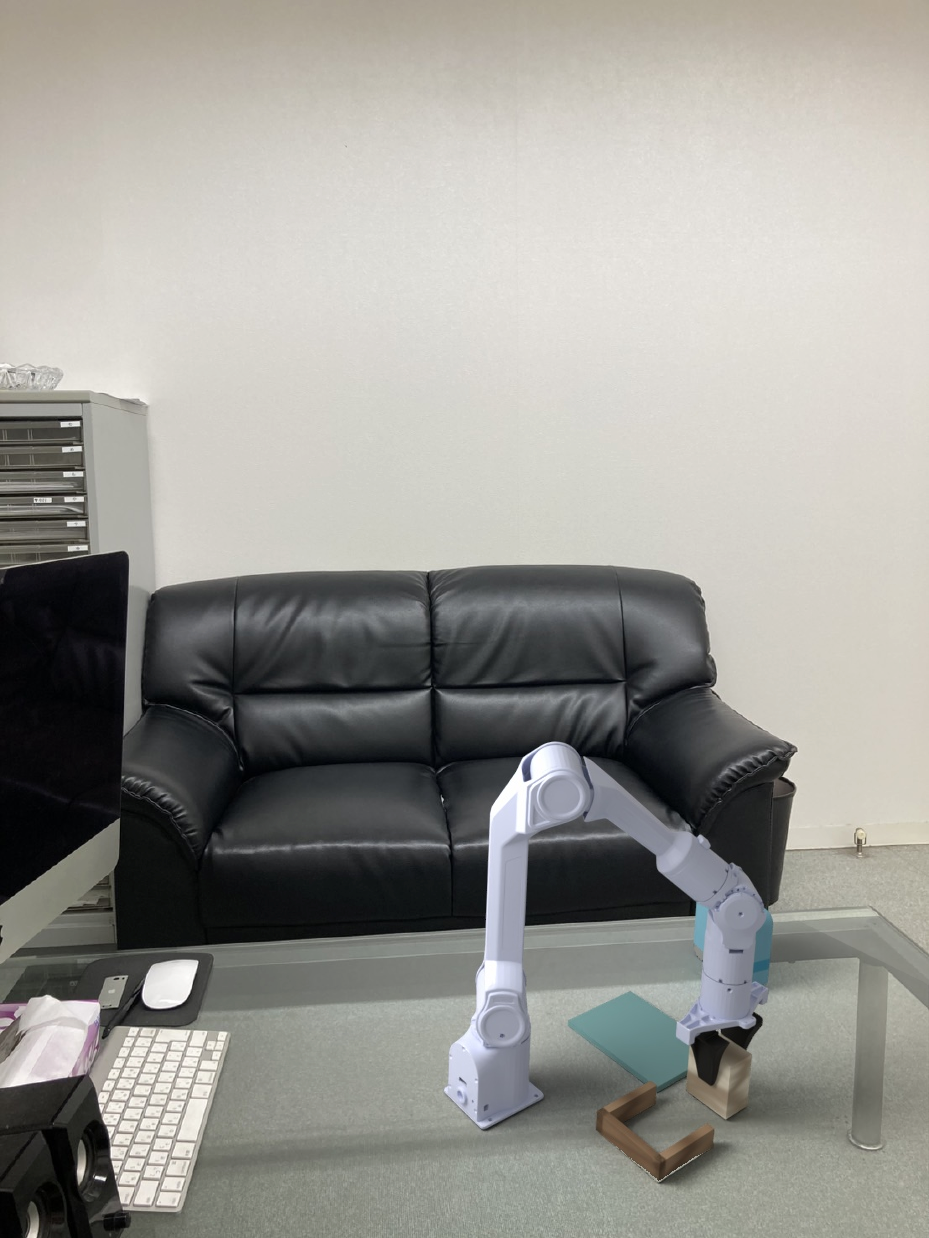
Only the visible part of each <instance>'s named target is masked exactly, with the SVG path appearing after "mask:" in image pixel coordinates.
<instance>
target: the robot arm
mask: <svg viewBox="0 0 929 1238" xmlns="http://www.w3.org/2000/svg"><path fill="white" fill-rule="evenodd" d="M583 759H584V762H585V763H584V764H585V765H583V762H582V758H581V756H580V754H579V753H578V752H577V750H576V749H575V748H574V747H572V746H571V745H570V744H567V743H566V742H561V741H551V742H547V743H544V744H542V745H540V746H539V747H537V748H535V749H534V750H532V751H531V752H529V753H527V754H526V755H525V756H523V757H522V759H521V761H520V762H519V765H518V768H517V769H516V772H515V773H514V774H513V776H512V777H511V778H510V780H509V782H508V783H507V784H506V785H505V787H504V788H503V790H502V791H501V792H500V794H499V796H498V797H497V798H496V799H495V802H494V803H493V805H491V809H490V812H489V831H488V835H489V837H488V858H487V860H488V861H487V889H486V890H487V891H486V913H485V919H486V920H485V939H484V940H485V943H484V945H485V946H484V953H483V954H484V956H483V961H482V964H481V965H480V967H479V968H478V970H477V972H476V975H475V986H476V1000H475V1001H476V1003H475V1004H476V1010H475V1012H474V1014H473V1015H472V1017H471V1020H470V1026H469V1027H468V1030H467V1031H465V1033H464V1035H462V1036H461V1037H460V1038H459V1039H458V1040H456V1041H455V1042H453V1043H452V1044H451V1046H450V1048H449V1051H448V1052H449V1053H448V1076H447V1077H448V1081H447V1083H448V1085H447V1086H445V1087H444V1094H446V1096H448V1098H450V1099H451V1101H453V1102H454V1103H455V1105H456V1106H458V1107H459V1108H460V1109H461V1111H463V1113H465V1114H466V1116H467V1117H468V1118H470V1119H471V1120H472V1121H473V1122H474V1123H475V1125H477V1127H479V1128H480V1129H482V1130H486V1129H488V1128H490V1127H492V1126H493V1125H496V1124H497V1123H500V1122H501V1121H503V1120H505V1119H507V1118H509V1117H511V1116H512V1115H514V1114H517V1113H518V1112H520V1111H522V1110H525V1109H526V1108H527V1107H530V1106H531V1105H534V1104H536V1103H537V1102H539V1101H541V1100H543V1099H544V1093H543V1092H542V1091H541V1090H540V1089H539V1088H537V1087H536V1086H535V1085H534V1084H533V1083H532V1082H531V1081H530V1059H531V1057H530V1056H531V1037H532V1036H531V1034H532V1031H531V1030H532V1023H531V1021H530V1020H531V1019H530V1018H531V1017H530V1015H529V1012H528V999H527V989H526V988H527V975H526V972H525V970H524V945H525V927H526V925H525V923H526V906H527V903H526V902H527V883H528V880H527V879H528V861H529V858H528V857H529V842H530V839H531V838H532V837H533V836H535V835H536V834H538V833H539V832H542V831H544V830H547V829H550V828H553V827H556V826H560V825H563V824H565V823H569V822H572V821H574V820H576V819H578V818H579V817H581V816H582V817H583V821H584V822H585V823H589V822H594V821H598V820H602V819H607V821H609V822H611V823H612V824H614V825H615V826H616V827H618V828H619V829H620V830H621V831H623V832H625V833H626V834H627V835H628V836H629V837H631V838H633V839H634V840H635V841H637V842H638V843H639V844H640V845H642V846H643V847H645V848H646V849H647V850H648V851H650V852H651V853H652V854H654V855H655V857H656V868H657V870H658V872H659V873H660V874H662V875H663V876H664V877H665V878H666V879H668V880H669V881H670V882H671V883H673V885H675V886H676V887H677V888H679V889H680V890H681V891H682V892H684V893H685V894H686V895H687V896H689V897H690V898H691V899H692V900H693V901H695V902H696V904H697V903H698V904H700V905H702V906H704V907H707V908H709V910H708V913H707V925H706V931H705V940H704V953H703V962H702V967H701V979H700V988H699V989H700V990H699V992H700V993H699V996H698V997H697V999H696V1000H695V1002H694V1003H693V1004H692V1006H691V1007H690V1008H689V1010H688V1012H687V1013H686V1014H685V1016H684V1017H683V1018H682V1019H680V1020H678V1021H676V1022H677V1028H676V1037H677V1038H678V1039H680V1040H681V1041H683V1042H684V1043H686V1044H687V1045H690V1046H691V1048H692V1051H693V1054H694V1058H695V1063H696V1068H697V1073H698V1077H699V1078H700V1079H701V1080H703V1081H704V1082H706V1083H707V1084H708V1085H710V1086H712V1085H714V1084H715V1082H716V1079H717V1075H718V1071H719V1066H720V1061H721V1058H722V1056H723V1053H724V1051H725V1049H726V1048H727V1046H728V1045H729V1044H730V1042H728V1041H727V1040H725V1039H724V1038H722V1037H721V1036H719V1035H718V1034H719V1033H720V1034H722V1035H723V1036H725V1037H726V1038H728V1039H729V1040H731V1041H732V1042H734V1043H735V1044H737V1045H739V1046H740V1047H742V1048H743V1049H745V1050H746V1051H747V1050H748V1047H749V1046H750V1044H751V1041H752V1039H753V1038H754V1037H755V1035H756V1034H757V1032H758V1031H759V1030H760V1029H761V1028H762V1026H763V1024H764V1023H763V1022H764V1019H763V1017H762V1016H761V1015H760V1014H758V1013H757V1012H755V1010H756V1009H757V1007H758V1006H759V1004H760V1005H761V1006H763V1005H765V1004H767V1003H768V1001H769V1000H768V998H769V990H770V989H769V987H766V985H764V986H763V985H761V984H759V983H758V982H756V981H755V982H753V983H752V975H753V964H754V954H755V943H756V940H755V937H756V932H757V931H758V930H759V929H760V928H761V927H762V925H763V924H764V922H765V920H766V916H767V914H766V913H764V908H765V906H764V903H763V900H762V897H761V896H760V894H759V892H758V891H757V888H756V887H755V886H754V884H753V882H752V881H751V879H750V878H749V876H748V875H747V874H746V873H745V872H744V871H743V868H742V867H741V866H738V865H736V864H735V863H734V862H731V863H728V862H726V861H725V860H724V859H723V858H722V857H721V856H719V855H718V854H717V853H716V852H714V851H713V850H712V849H710V848H711V843H710V842H709V840H708V839H707V838H706V837H704V835H702V834H699V835H698V836H695V835H694V834H693V833H691V832H690V831H687V830H686V831H685V830H681V831H672V830H671V829H670V828H669V827H667V826H666V825H665V824H664V823H663V822H662V821H661V820H660V819H659V818H657V816H655V815H654V814H653V813H652V812H651V811H650V810H649V809H647V807H646V806H644V805H643V804H642V803H640V801H639V800H637V798H635V797H634V796H633V795H632V794H631V793H629V791H627V790H626V789H625V788H624V787H623V786H622V785H621V784H619V783H618V782H617V781H616V780H615V779H614V778H613V777H612V776H611V775H610V774H608V773H607V772H606V771H605V770H603V769H602V768H601V767H600V766H599V765H597V764H596V763H595V762H594V761H592V759H589V758H588V757H586V756H583ZM719 1030H720V1031H719Z"/></svg>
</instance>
